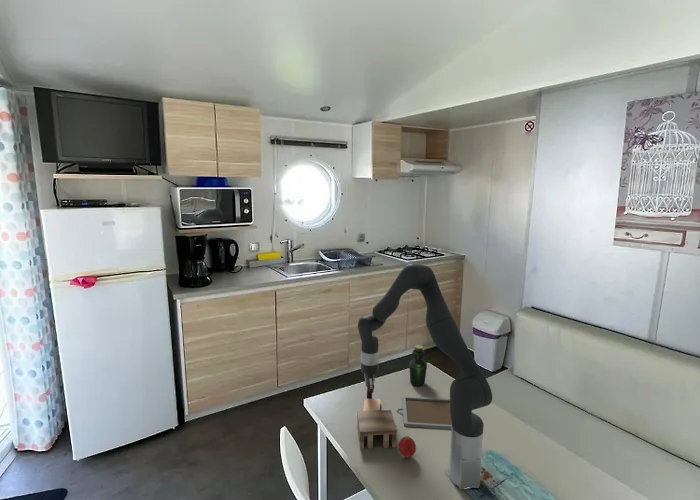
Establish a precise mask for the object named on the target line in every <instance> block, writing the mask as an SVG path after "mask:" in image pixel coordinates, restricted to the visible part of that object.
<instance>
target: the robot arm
mask: <svg viewBox="0 0 700 500" xmlns="http://www.w3.org/2000/svg"><path fill="white" fill-rule="evenodd" d="M409 290H415V291H416V290H419V291H420V293H421V295H422V296H423V299H424V301H425V304H426V314H425V324H426V328H427V330H428V332H429V335H430V338H431V339H432V341H433V343H434V345H435V346H436V347H437V348H438V349H439V350H440V351H441V352H442V353H444V355H446V356H447V357H449V358H450V359H451V360H452V362H454V363H455V364H456V366H458V369H459V370H460V371H461V374H462V376H463V377H460V378H456V379H454V380H452V381H451V384H450V386H449V399H450V416H451V420H452V428H451V429H450V430H451V431H450V432H451V433H450V446H449V447H450V449H449V450H450V451H449V465H448V466H449V469H448V476H449V480H450V481H451V482H452V483H453V484H454V485H455V486H456V487H458V489H459V490H465V489H464V488H467V487H472V486H480V487H481V473H482V453H483V440H484V427H485V426H484V421H483V419H482V418H481V417H480V416H479V415H477V414H476V413H473V412H472V411H473V410H477V409H480V408H484V407H487V406H489V405H490V404H491V403H492V402H493V393H492V388H491V386H490V384H489V382H488V380H487V378H486V377H485V375H484V373H483V372H482V369H481V368H480V366H479V365H478V364H477V362H476V360H475V358H474V356H473V355H472V353H471V352H470V350H469V347H468V345H467V344H466V342H465V340H464V338H463V336H462V334H461V332H460V328H459V327H458V324H457V323H456V321H455V319H454V317H453V315H452V313H451V311H450V309H449V307H448V305H447V302H446V300H445V299H444V296H443V294H442V292H441V289H440V286H439V283H438V280H437V278H436V275H435V273H434V271H433V270H432V268H431V267H430V266H428V265H426V264H425V265H424V264H421V263H420V264H419V263H408V264H406V265H405V266H404V267H403V268H402V270H401V271H400V272H399V274H398V275H397V276H396V279H395V280H394V281H393V283H392V284H391V286H390V287H389V289H388V290H387V292H386V293H385V295H383V296H382V298H381V299H380V300H379V301H378V302H377V303H376V304H375V305H374V306H373V307H372V311H371V313H369V314H366V315H364V316H360V318H359V320H358V323H357V328H358V329H357V330H358V333H359V337H360V341H361V350H360V351H361V353H360V372H361V374H364V384H365V390H366V398H369V399H373V394H374V392H375V390H374V389H375V380H376V378H375V375H377V373H379V370H380V367H379V366H380V365H379V363H380V360H379V359H380V355H379V338H378V337H377V336H376V335H373V333H374V331H377V330H379V329H380V328H382V326H384V325H385V323H386V321H387V320H388V319H389V318H390V317H391V316H392V314H394V313H395V312H396V310H398V307H399V304H400V302H401V297H402V296H403V295H404V294H405V293H406V292H408V291H409Z"/></svg>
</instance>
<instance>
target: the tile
mask: <svg viewBox="0 0 700 500" xmlns="http://www.w3.org/2000/svg"><path fill="white" fill-rule="evenodd" d="M378 410H381V399H379V398H372V399H369V398H367V397H366V398H364V402H363V408H362V411H378Z"/></svg>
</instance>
